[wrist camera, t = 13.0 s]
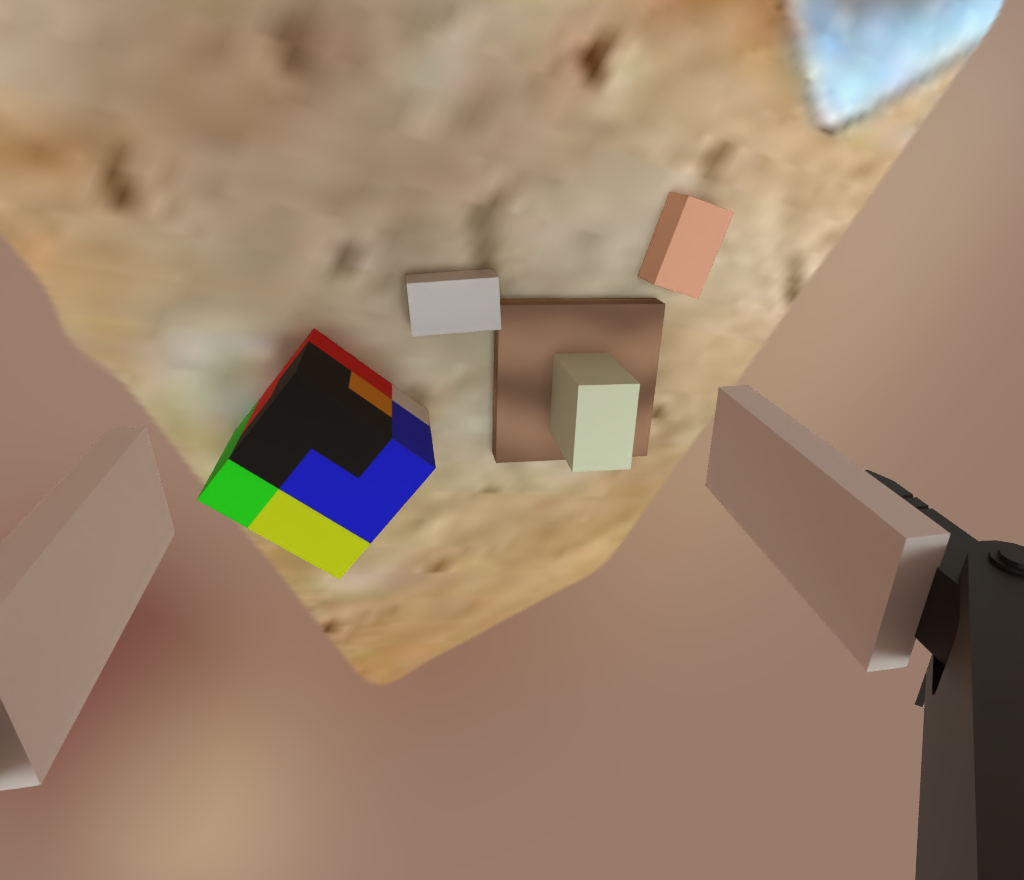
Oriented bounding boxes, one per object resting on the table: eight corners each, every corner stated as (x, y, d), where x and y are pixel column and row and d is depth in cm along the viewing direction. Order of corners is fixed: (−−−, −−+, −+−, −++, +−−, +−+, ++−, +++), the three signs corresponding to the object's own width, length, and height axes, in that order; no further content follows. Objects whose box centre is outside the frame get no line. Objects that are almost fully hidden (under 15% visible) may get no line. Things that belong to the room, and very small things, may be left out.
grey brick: (410, 323, 47) (412, 336, 44) (405, 274, 46) (406, 283, 43) (494, 317, 48) (501, 329, 45) (491, 268, 47) (498, 277, 43)
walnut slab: (495, 299, 47) (499, 305, 45) (655, 298, 49) (665, 303, 47) (492, 451, 52) (496, 462, 50) (638, 445, 54) (646, 455, 52)
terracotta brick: (668, 192, 46) (688, 195, 43) (711, 207, 47) (734, 212, 44) (637, 275, 49) (654, 284, 45) (678, 289, 49) (698, 298, 46)
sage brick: (553, 353, 48) (578, 385, 41) (607, 352, 48) (640, 383, 42) (549, 430, 50) (572, 471, 44) (600, 428, 51) (630, 469, 44)
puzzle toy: (427, 409, 50) (435, 468, 41) (348, 504, 52) (339, 579, 43) (313, 328, 46) (295, 372, 37) (233, 433, 48) (197, 499, 39)
